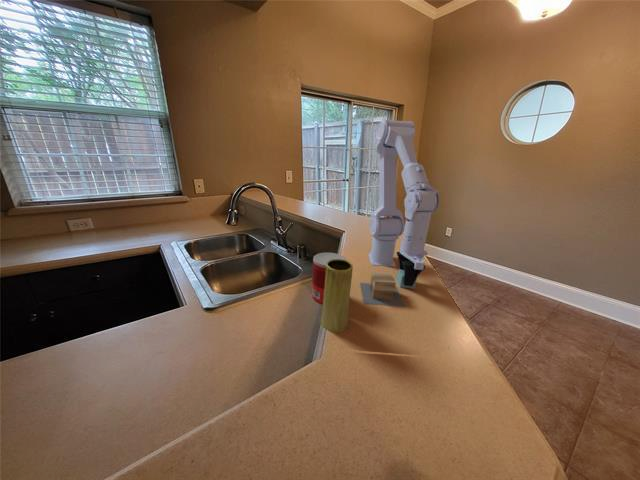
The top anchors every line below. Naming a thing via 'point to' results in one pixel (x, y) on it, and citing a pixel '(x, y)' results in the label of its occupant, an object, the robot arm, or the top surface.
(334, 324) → the vase
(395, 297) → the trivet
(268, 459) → the top surface
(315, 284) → the canned food
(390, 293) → the tower base
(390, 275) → the tower mid
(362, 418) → the top surface
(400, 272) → the cube
